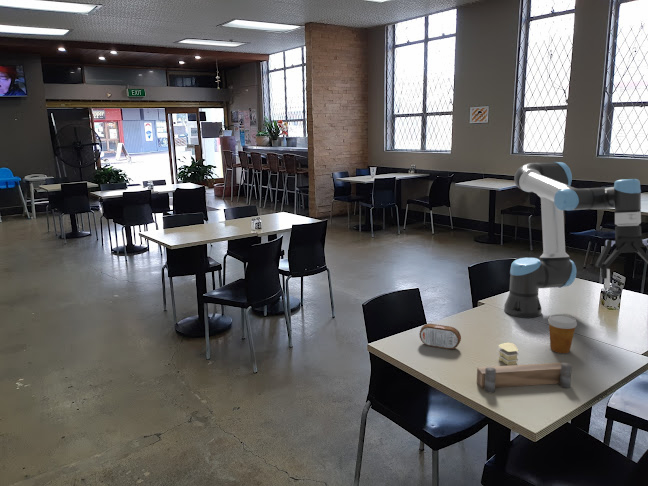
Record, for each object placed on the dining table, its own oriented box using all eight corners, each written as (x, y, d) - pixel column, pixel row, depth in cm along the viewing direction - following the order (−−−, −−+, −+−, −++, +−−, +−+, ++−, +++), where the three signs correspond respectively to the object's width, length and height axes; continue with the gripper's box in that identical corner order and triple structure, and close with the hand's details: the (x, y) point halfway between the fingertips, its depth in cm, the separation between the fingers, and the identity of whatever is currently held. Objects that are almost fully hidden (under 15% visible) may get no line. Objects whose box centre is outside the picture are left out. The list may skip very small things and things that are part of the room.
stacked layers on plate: (528, 366, 167) (529, 351, 166) (504, 369, 166) (505, 354, 164) (511, 354, 177) (512, 339, 176) (488, 356, 175) (489, 342, 174)
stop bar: (476, 381, 158) (477, 361, 156) (561, 376, 159) (563, 356, 158) (485, 393, 151) (486, 372, 149) (573, 387, 153) (575, 366, 151)
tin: (460, 348, 182) (461, 327, 180) (459, 351, 179) (460, 330, 177) (420, 342, 188) (420, 321, 186) (418, 345, 185) (418, 324, 184)
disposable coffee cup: (572, 345, 181) (575, 315, 179) (576, 356, 173) (579, 324, 170) (544, 342, 184) (546, 312, 182) (546, 353, 176) (549, 322, 173)
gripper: (592, 226, 165) (593, 289, 166) (674, 223, 161) (675, 288, 162) (584, 226, 173) (585, 286, 174) (663, 223, 168) (663, 285, 169)
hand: (629, 287), depth 168 cm, fingers open, 13 cm apart
